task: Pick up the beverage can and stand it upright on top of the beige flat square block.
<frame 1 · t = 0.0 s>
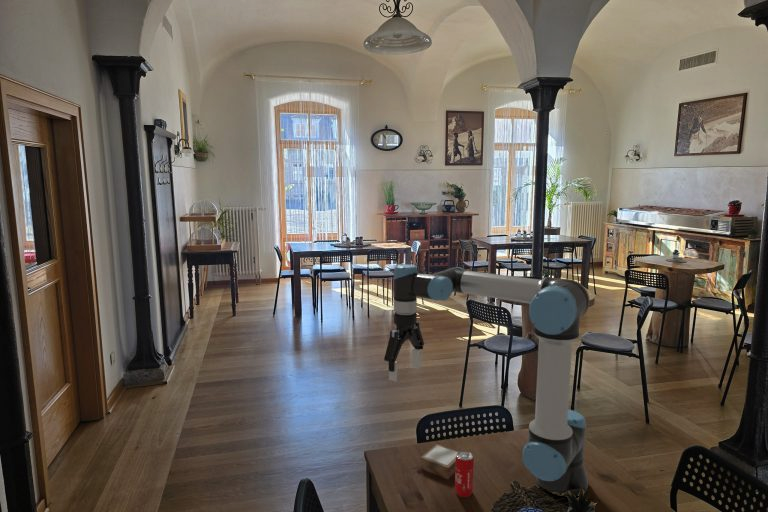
hand: (404, 373, 171), 28 cm above the table, fingers open, 13 cm apart
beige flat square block: (442, 466, 166), on the table
beverage can: (463, 493, 153), on the table
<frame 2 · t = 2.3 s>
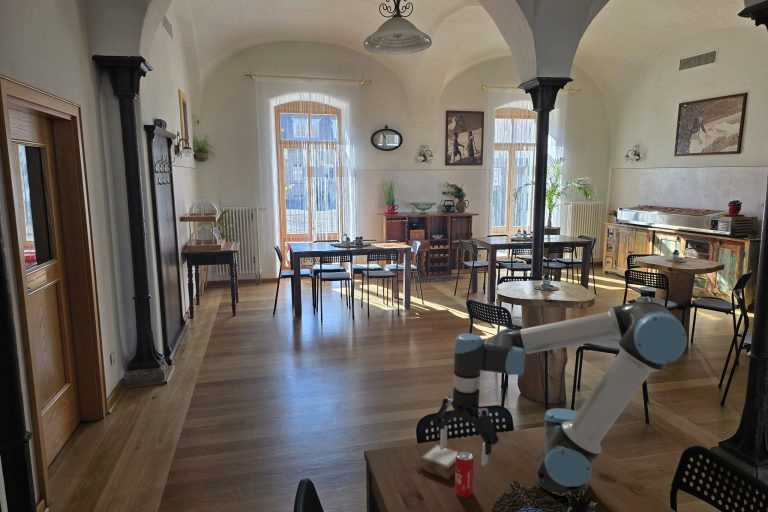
hand: (463, 455, 151), 12 cm above the table, fingers open, 13 cm apart
nothing on the table moved.
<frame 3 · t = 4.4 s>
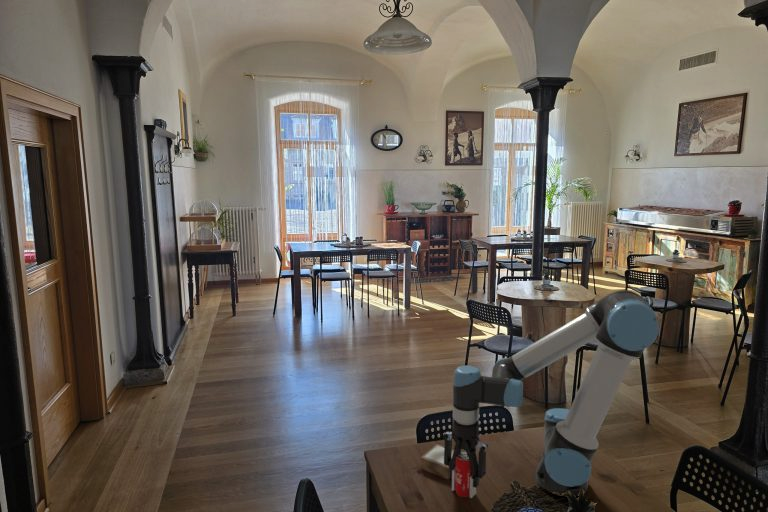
hand: (463, 491, 153), 0 cm above the table, fingers closed on beverage can, 5 cm apart
beverage can: (463, 493, 153), on the table, touching gripper
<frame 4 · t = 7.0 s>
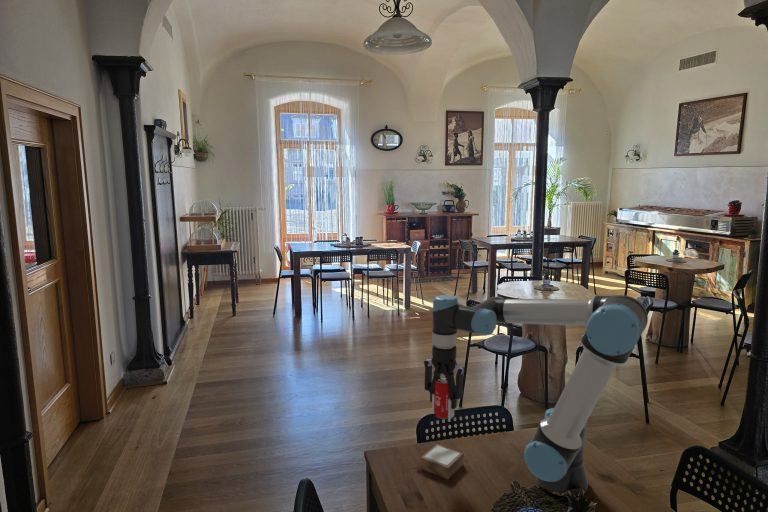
hand: (443, 414, 163), 18 cm above the table, fingers closed on beverage can, 5 cm apart
beverage can: (442, 416, 163), point 18 cm above the table, touching gripper
when the fingers open (5 cm above the table, at t = 9.9 s): beverage can stays where it is, resting on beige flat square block.
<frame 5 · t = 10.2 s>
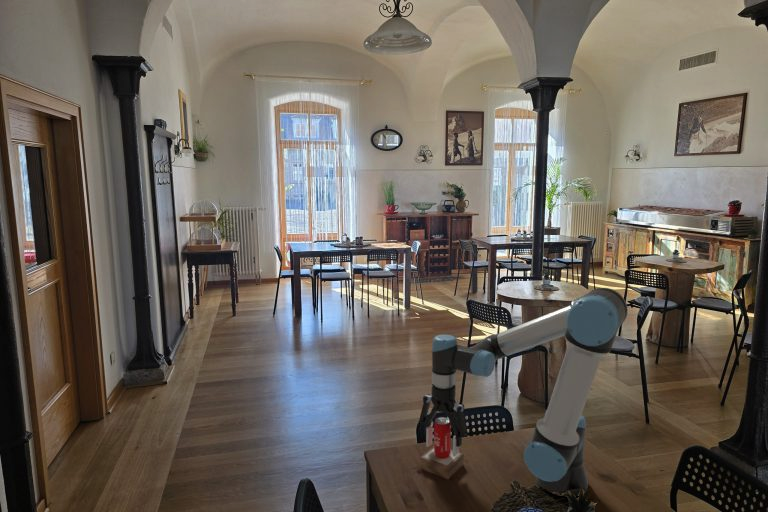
hand: (442, 449, 165), 6 cm above the table, fingers open, 9 cm apart
beverage can: (442, 455, 165), point 4 cm above the table, touching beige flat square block
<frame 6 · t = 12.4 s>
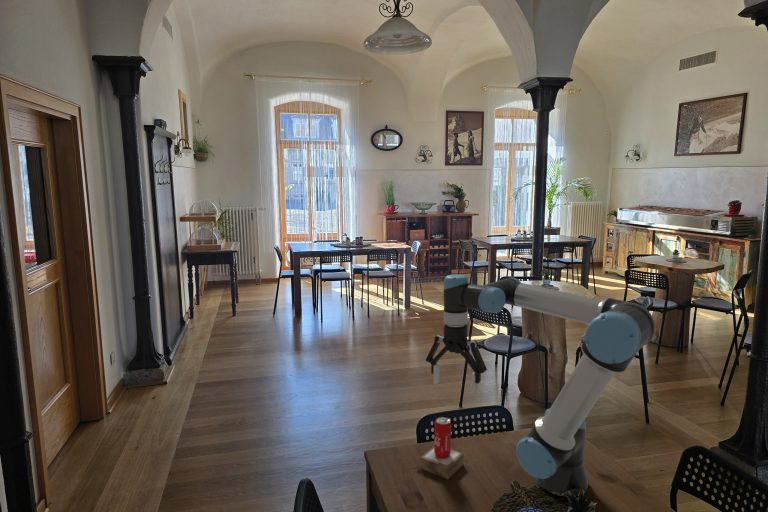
hand: (455, 387, 164), 26 cm above the table, fingers open, 13 cm apart
nothing on the table moved.
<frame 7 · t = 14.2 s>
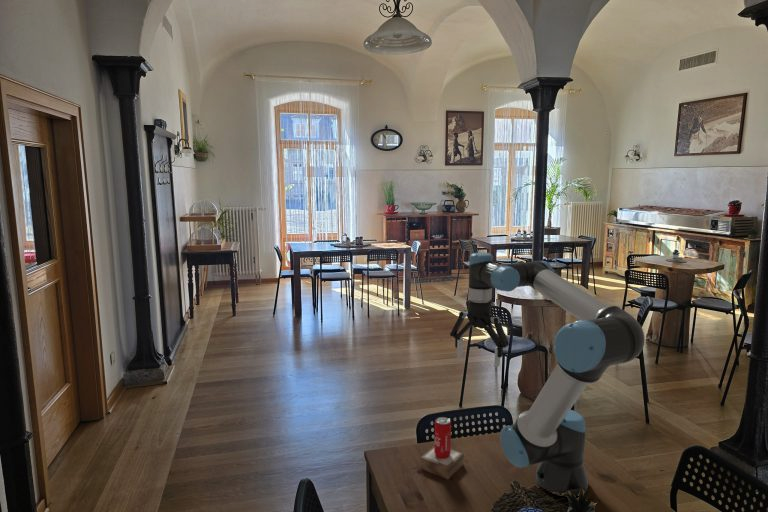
hand: (478, 361, 171), 32 cm above the table, fingers open, 13 cm apart
nothing on the table moved.
at the end: beverage can 0.1 cm from the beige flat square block (horizontally); beverage can touching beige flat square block; beverage can tilted 0° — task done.
